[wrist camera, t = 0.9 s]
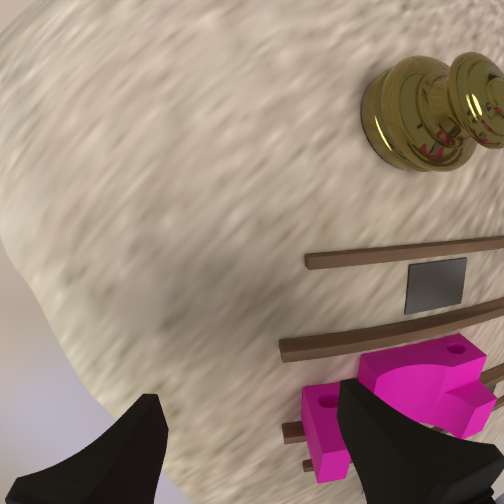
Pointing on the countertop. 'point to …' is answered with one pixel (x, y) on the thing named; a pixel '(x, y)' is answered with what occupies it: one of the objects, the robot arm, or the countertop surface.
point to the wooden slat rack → (417, 300)
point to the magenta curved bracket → (403, 396)
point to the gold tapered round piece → (435, 111)
